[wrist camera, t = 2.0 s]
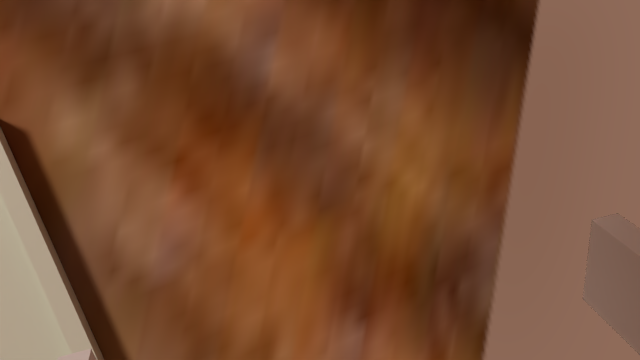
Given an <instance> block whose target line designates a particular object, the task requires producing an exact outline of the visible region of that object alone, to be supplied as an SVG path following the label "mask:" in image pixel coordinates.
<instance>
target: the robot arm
mask: <svg viewBox="0 0 640 360" xmlns="http://www.w3.org/2000/svg"><path fill="white" fill-rule="evenodd" d="M589 241H590V242H589V249H588V258H587V267H586V276H585V285H584V294H583V300H585V301H586V302H587V303H588V304H589V305H590V306H591V307H592V308H593V309H594V310H595V311H596V312H597V313H598V314H599V315H600V316H601V317H602V318H603V319H604V320H605V321H606V322H607V323H608V324H609V325H610V326H611V327H612V328H613V329H614V330H615V331H616V332H617V333H618V334H619V335H620V336H621V337H622V338H623V339H624V340H625V341H626V342H627V343H628V344H629V345H630V346H631V347H632V348H633V349H634V350H635V351H636V352H637V353H638V354H639V355H640V228H638V227H637V226H635V225H634V224H633V223H631V222H630V221H628V220H627V219H625V218H624V217H622V216H621V215H620V214H618V213H617V214H613V215H609V216H605V217H601V218H597V219H593V220H592V224H591V232H590V240H589ZM57 360H97V359H96V357H95V355H94V353H93V351H92V349H88V350H84V351H80V352H76V353H72V354H68V355H64V356H60V357H58V359H57Z"/></svg>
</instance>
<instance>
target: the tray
mask: <svg viewBox="0 0 640 360" xmlns="http://www.w3.org/2000/svg"><path fill="white" fill-rule="evenodd" d="M88 349H92V351H93V353H94V355H95V357H96V359H97V360H104V358H103V356H102V353H101V351H100V349H99V347H98V344H97V342H96V340H95V338H94V335H93V333H92V331H91V329H90V326H89V324H88V322H87V320H86V318H85V315H84V313H83V311H82V309H81V306H80V304H79V302H78V300H77V297H76V295H75V293H74V291H73V288H72V286H71V284H70V282H69V279H68V277H67V275H66V273H65V270H64V268H63V266H62V264H61V261H60V259H59V257H58V255H57V252H56V250H55V248H54V246H53V243H52V241H51V239H50V237H49V235H48V232H47V230H46V228H45V226H44V223H43V221H42V219H41V217H40V214H39V212H38V210H37V208H36V205H35V203H34V201H33V199H32V196H31V194H30V192H29V190H28V187H27V185H26V183H25V181H24V178H23V176H22V174H21V172H20V169H19V167H18V165H17V163H16V160H15V158H14V156H13V154H12V152H11V149H10V147H9V145H8V143H7V140H6V138H5V136H4V134H3V131H2V129H1V127H0V360H57V359H58V357H60V356H64V355H68V354H72V353H76V352H80V351H84V350H88Z"/></svg>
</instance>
